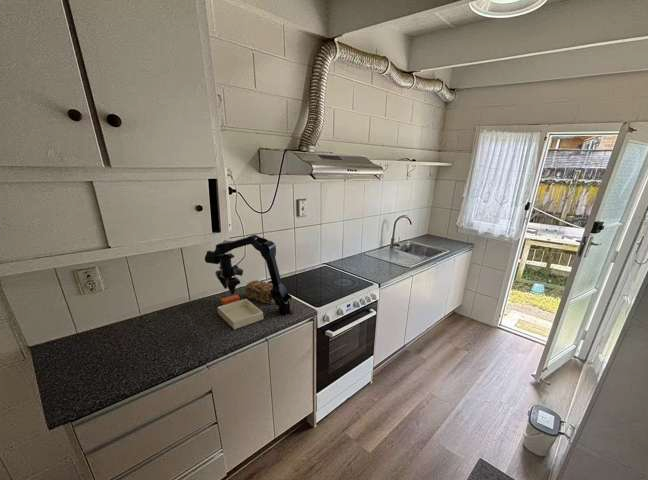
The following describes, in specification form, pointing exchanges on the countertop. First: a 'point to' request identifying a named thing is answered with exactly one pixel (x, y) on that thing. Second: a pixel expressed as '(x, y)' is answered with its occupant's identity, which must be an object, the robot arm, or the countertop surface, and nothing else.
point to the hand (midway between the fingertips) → (229, 291)
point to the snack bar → (230, 299)
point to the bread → (259, 291)
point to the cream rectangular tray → (240, 313)
